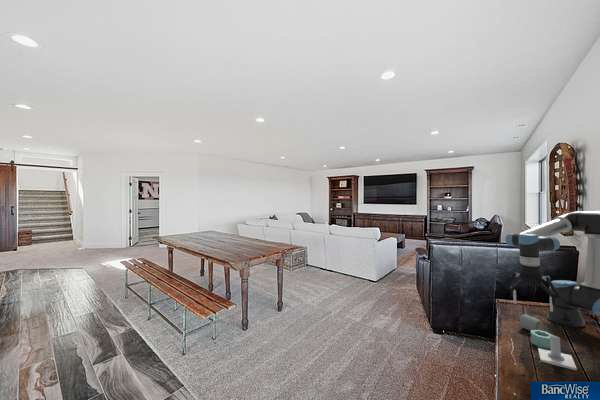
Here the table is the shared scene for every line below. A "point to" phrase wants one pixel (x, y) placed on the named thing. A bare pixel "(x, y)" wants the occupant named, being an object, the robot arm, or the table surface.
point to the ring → (540, 338)
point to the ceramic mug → (531, 323)
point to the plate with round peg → (556, 355)
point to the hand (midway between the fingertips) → (532, 306)
